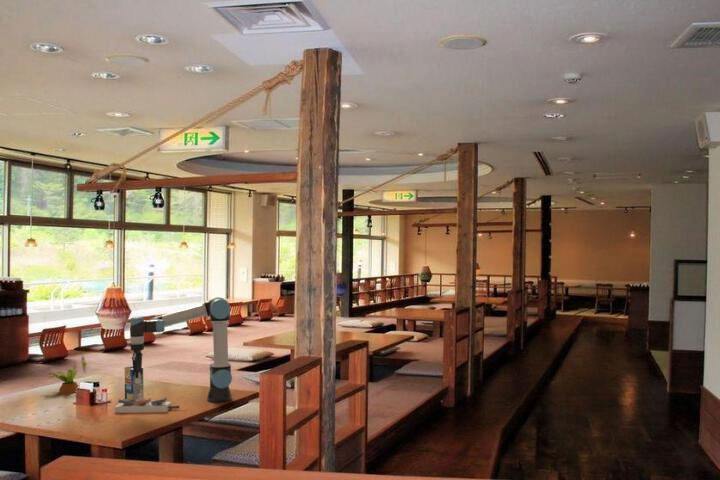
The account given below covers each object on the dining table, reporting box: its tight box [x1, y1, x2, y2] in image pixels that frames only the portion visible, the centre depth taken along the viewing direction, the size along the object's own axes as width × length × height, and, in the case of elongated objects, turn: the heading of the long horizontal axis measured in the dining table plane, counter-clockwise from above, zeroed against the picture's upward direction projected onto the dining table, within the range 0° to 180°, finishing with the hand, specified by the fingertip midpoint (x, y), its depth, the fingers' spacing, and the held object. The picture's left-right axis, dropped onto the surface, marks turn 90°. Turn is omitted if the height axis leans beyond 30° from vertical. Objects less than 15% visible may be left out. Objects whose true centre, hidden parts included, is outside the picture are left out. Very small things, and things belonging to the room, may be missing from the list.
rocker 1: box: [118, 397, 135, 405], centre depth 397 cm, size 8×4×2 cm, turn 91°
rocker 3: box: [150, 397, 167, 405], centre depth 397 cm, size 8×4×2 cm, turn 91°
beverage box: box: [124, 365, 144, 401], centre depth 416 cm, size 7×11×22 cm, turn 45°
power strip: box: [114, 401, 180, 414], centre depth 399 cm, size 36×11×4 cm, turn 91°
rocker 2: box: [135, 397, 152, 404], centre depth 397 cm, size 8×4×2 cm, turn 91°
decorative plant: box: [48, 355, 88, 395], centre depth 452 cm, size 27×24×25 cm
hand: (137, 383), depth 397 cm, fingers closed
